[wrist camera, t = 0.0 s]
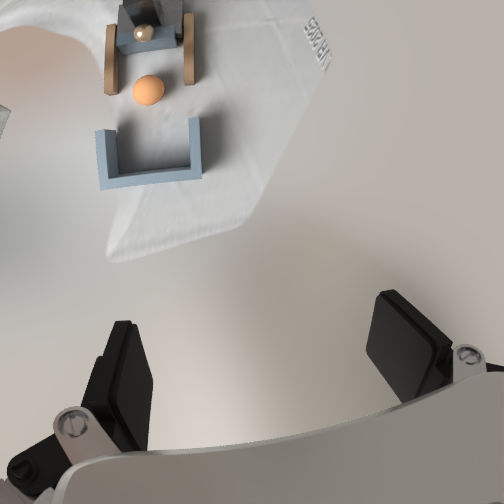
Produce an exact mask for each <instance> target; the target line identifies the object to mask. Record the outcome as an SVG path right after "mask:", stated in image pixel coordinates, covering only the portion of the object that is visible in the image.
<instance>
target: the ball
mask: <svg viewBox="0 0 504 504" xmlns="http://www.w3.org/2000/svg"><path fill="white" fill-rule="evenodd" d="M163 94H164V84H163V82H162V80H161V79H160V78H158V77H156V76H154V75H146V76H143V77H141V78H140V79H138V80H137V81H136V83H135V84H134V87H133V97H134V99H135V100H136V101H137V102H138V103H139V104H142V105H153V104H155V103H157V102H158V101H159V100H160V99H161V98H162V96H163Z"/></svg>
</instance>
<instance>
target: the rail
mask: <svg viewBox="0 0 504 504" xmlns="http://www.w3.org/2000/svg"><path fill="white" fill-rule="evenodd" d="M116 40H117V25H116V24H111V25H107V29H106V44H105V67H104V93H105V94H107V95H109V96H111V95H117V94H118V57H119V48H118V47H117V46H116V44H117V42H116ZM184 83H185V85H194V13H184Z"/></svg>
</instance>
